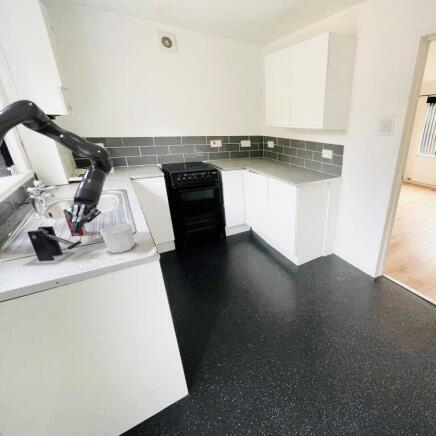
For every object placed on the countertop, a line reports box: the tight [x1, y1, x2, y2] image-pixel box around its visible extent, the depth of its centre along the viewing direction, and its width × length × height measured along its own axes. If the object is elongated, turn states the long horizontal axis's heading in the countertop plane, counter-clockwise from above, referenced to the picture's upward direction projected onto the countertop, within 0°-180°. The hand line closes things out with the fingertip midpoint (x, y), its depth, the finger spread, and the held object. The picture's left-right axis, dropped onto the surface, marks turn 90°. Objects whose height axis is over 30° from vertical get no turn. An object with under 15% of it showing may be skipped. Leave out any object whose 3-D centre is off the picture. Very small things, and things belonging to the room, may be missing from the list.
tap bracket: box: [26, 225, 64, 262], centre depth 89 cm, size 10×8×13 cm
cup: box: [99, 223, 135, 254], centre depth 96 cm, size 10×10×10 cm
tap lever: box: [34, 228, 82, 250], centre depth 89 cm, size 13×5×2 cm, turn 92°
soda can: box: [64, 215, 87, 237], centre depth 111 cm, size 5×5×12 cm
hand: (74, 232), depth 90 cm, fingers closed
